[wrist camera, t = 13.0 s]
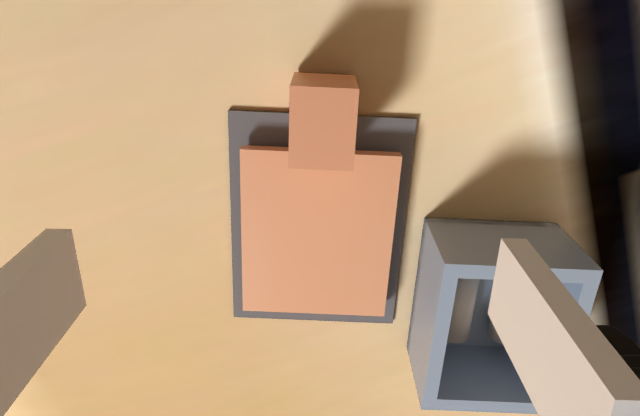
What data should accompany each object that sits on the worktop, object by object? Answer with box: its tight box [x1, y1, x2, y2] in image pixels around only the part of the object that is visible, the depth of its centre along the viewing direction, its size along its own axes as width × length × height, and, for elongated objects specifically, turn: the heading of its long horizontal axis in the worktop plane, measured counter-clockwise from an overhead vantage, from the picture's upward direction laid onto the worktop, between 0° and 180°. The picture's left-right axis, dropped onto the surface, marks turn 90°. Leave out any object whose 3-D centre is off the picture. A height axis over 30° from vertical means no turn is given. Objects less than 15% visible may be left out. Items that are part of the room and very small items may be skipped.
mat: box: [228, 110, 417, 323], centre depth 38 cm, size 17×13×1 cm
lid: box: [240, 72, 402, 316], centre depth 35 cm, size 18×11×5 cm, turn 177°
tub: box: [407, 218, 603, 414], centre depth 37 cm, size 12×10×7 cm
